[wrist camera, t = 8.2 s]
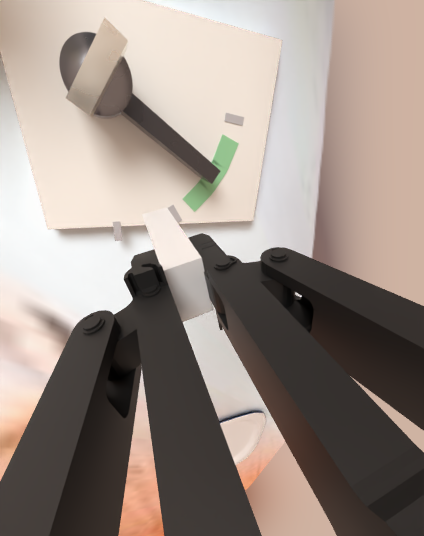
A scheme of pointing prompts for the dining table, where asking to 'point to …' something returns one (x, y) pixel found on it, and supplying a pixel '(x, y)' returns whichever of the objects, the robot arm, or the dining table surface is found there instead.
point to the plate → (243, 434)
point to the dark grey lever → (119, 92)
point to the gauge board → (152, 95)
